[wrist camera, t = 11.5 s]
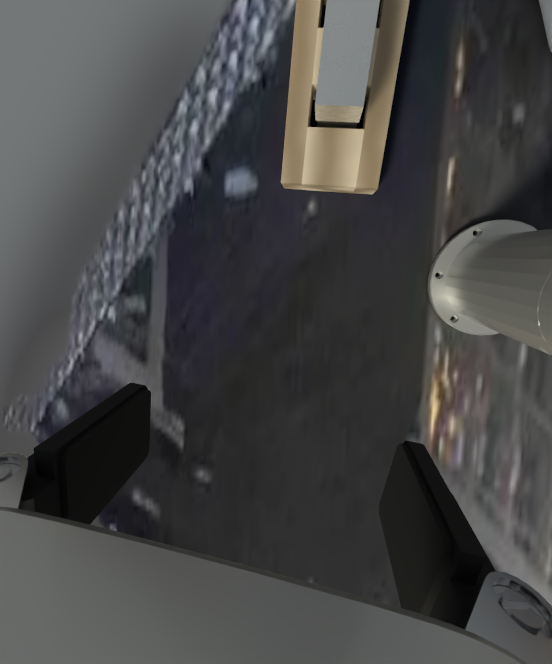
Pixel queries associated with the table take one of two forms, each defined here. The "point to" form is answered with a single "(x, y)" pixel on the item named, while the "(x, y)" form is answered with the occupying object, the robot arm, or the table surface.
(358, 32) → the brushed steel block
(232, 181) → the table surface
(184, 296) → the table surface
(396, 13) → the birch rail
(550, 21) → the plastic bottle
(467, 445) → the table surface
